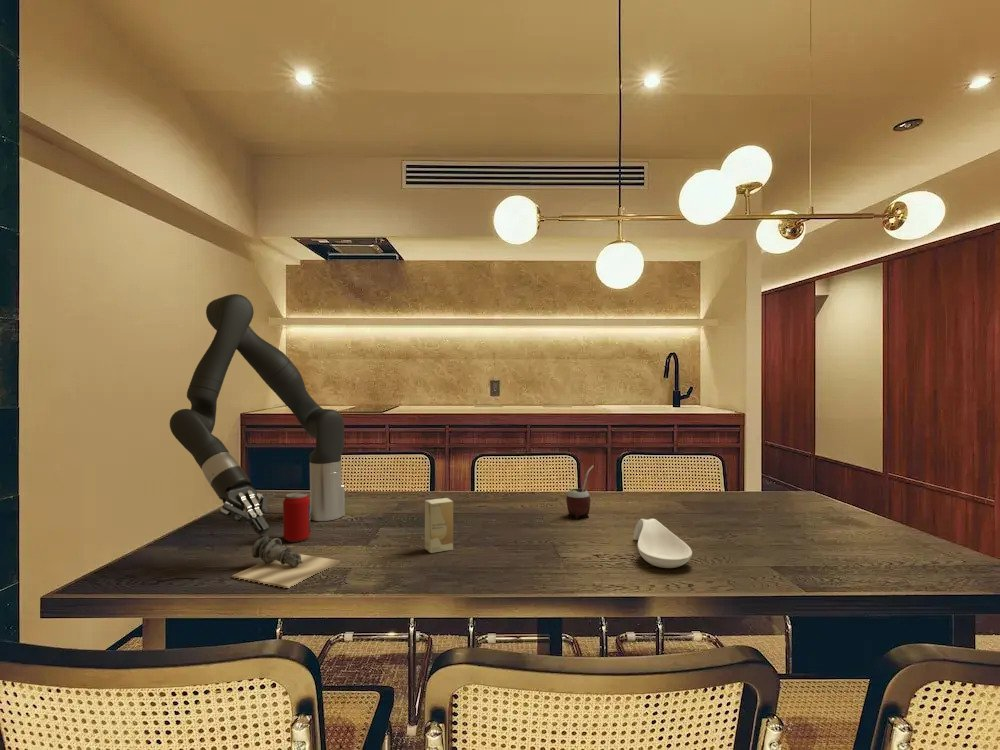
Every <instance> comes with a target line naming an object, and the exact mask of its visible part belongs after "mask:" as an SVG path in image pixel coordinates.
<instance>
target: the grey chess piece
mask: <svg viewBox="0 0 1000 750" xmlns="http://www.w3.org/2000/svg"><path fill="white" fill-rule="evenodd" d="M300 554H301V553H297V552H295V551H292V548H285V547H283V545H282V540H281V539H280V538H278V537H276V538H274V537H273V538H269V535H266V534H262V535H259V537H258V538H257V539H256V540H255V541H254V544H252V548H251V556H252V557H253V558H255V559H258V558H260V560H262V563H263V562H264V563H266V564H270V563H272V562H273V561H274V560H277V561H280V563H281V564H285V563H286V564H288V565H291V566H293V567H295V566H297V565H299V563H300V564H301V563H303V562H302V561H301V555H300Z"/></svg>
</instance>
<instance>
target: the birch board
mask: <svg viewBox="0 0 1000 750" xmlns="http://www.w3.org/2000/svg"><path fill="white" fill-rule="evenodd" d="M299 554H300V555H301V561H302V562H303V563H301V564H300V563H299V565H297V566H295V567H293V566H291V565H288V564H286V563H285V564H281V563H280V561H277V560H274V561H273V562H272V563H270V564H266V563H264V562H263V561H262V562H261V563H258V564H256V565H254V566H251V567H249V568H246V569H244V570H240V571H239V572H236V573H234V574H232V575H231V577H234V578H233V579H235V578H239V579H238V580H240V579H244V580H243V581H245V580H248V581H247V582H250V581H252V582H251V583H255V582H258V583H257V584H260V583H263V584H262V585H265V584H268V585H267V586H270V585H273V586H272V587H275V586H278V587H277V588H280V587H283V588H282V589H285V588H289V589H290V587H291V586H293V587H295V586H297V585H299V584H300V583H299V582H301V583H303V582H304V581H303V580H305V579H307V578H309V577H311V576H313V575H315V574H317V573H319V574H321V573H323V572H325V571H327V570H329V569H331V568H333V567H335V566H337V565H339V564H341V560H339V559H333V558H327V557H321V556H313V555H308V554H301V553H299ZM328 568H329V569H328ZM326 569H327V570H326ZM324 570H325V571H324ZM322 571H323V572H322ZM320 572H321V573H320ZM317 575H318V574H317ZM315 576H316V575H315ZM313 577H314V576H313ZM311 578H312V577H311ZM309 579H310V578H309ZM307 580H308V579H307ZM302 581H303V582H302ZM305 581H306V580H305ZM298 583H299V584H298ZM296 584H297V585H296ZM294 585H295V586H294ZM291 588H292V587H291Z"/></svg>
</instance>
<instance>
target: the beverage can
mask: <svg viewBox="0 0 1000 750" xmlns="http://www.w3.org/2000/svg"><path fill="white" fill-rule="evenodd" d="M310 511H311V510H310V497H309V495H308V493H307V492H304V491H303V492H292V493H288V494H285V498H284V500H283V502H282V512H283V517H282V518H283V519H282V520H283V523H282V524H283V539H284V540H286V541H287V542H288V543H299V541H300V542H304V541H306V540H307V539H308V538H310V537H311V514H310ZM303 540H304V541H303Z"/></svg>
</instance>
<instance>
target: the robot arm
mask: <svg viewBox="0 0 1000 750" xmlns="http://www.w3.org/2000/svg"><path fill="white" fill-rule="evenodd" d="M205 309H206V310H205V315H206V318H207V320H208V323H209V324H210V325H211V327H212V329H214V330H215V331H216V332H215V335H214V337H213V340H212V341H211V343H210V344H209V347H208V348H207V350H206V351H205V353H204V354H203V355H202V357H201V359H200V360H199V362H198V364H197V365H196V368H195V369H194V371H193V375H192V376H191V379H190V382H189V385H188V388H187V391H186V398H187V400H188V401H189V402H190V405H191V407H190V409H189V408H182V409H181V408H180V409H179V410H176V411H175V412H174V413H173V414H172V416H170V419H169V429H170V431H171V433H172V435H173V436H174V438H175V439H176V440H177V441H178V443H180V444H181V445H182V446H183V448H185V450H187V452H189V453H190V455H191V456H192V457H193V459H194V460H195V462H196V464H197V465H198V466H199V468H200V469H201V471H202V473H203V475H204V477H205V479H206V480H207V482H208V484H209V485H210V486H211V488H212V490H213V491H214V492H215V494H216V496H217V497H218V499H219V500H221V501H222V503H223V505H222V506H221V508H220V509H219V510H218V514H220V515H221V516H224V517H226V518H228V519H230V520H232V521H235V522H237V523H238V524H241V525H242V524H244V523H247V524H249V525H250V527H251V528H252V530H253V531H254V532H255V533H256V534H258V536H262V535H266V533H268V531H269V530H270V529H269V528H270V527H269V524H268V523H267V521H266V519H265V518H264V517H263V516H264V515H265V513H266V512H267V511H268V504H269V493H267V492H264V493H263V494H262V493H258V491H257V489H255V488H254V487H253V486H252V483H251V479H250V478H249V476H248V475H247V473H246V472H245V471H244V469H243V468H242V467H241V465H240V464H239V462H238V460H237V459H236V458H235V457H234V455H232V454H231V453H230V451H229V449H228V448H227V447H226V445H225V444H224V443H223V441H222V440H221V439H220V438H218V437H217V436H215V435H214V434H212V433H213V431H214V428H215V425H216V419H217V418H216V417H217V404H218V403H217V401H218V398H219V395H220V392H221V389H222V387H223V383H224V380H225V377H226V375H227V372H228V370H229V366H230V364H231V362H232V359H233V357H234V356H235V353H236V351H237V352H239V355H241V356H242V357H243V359H244V360H245V361H246V362H247V363H248V365H250V366H251V368H253V370H254V371H255V372H256V373H257V375H259V377H260V378H261V379H262V381H263V382H264V383H265V384H266V385H267V387H269V388H270V390H272V392H273V393H274V394H276V396H277V397H278V398H279V399H280V400H281V402H283V404H284V405H285V406H287V408H288V409H289V410H290V411H291V412H292V413H293V415H294V416H295V418H296V419H297V421H298V422H299V424H300V425H301V426H302V428H303V430H304V431H305V432H306V433H307V434H308V435H309V436H310V437H312V438H313V439H315V441H316V442H315V448H314V450H313V451H311V452H310V453H309V493H310V497H309V499H310V521H311V520H312V521H315V522H326V521H333V520H338V519H340V518H342V517H345V516H346V504H345V503H346V501H345V497H346V496H345V495H346V494H345V485H344V484H343V483H342V481H343V480H342V454H343V452H344V448H345V446H344V445H345V421H344V418H343V416H342V414H341V413H340V412H339V411H337V410H335V409H331V408H330V409H329V408H322V407H321V406H320V405H319V404H318V403H317V401H316V400H314V398H312V397H311V395H310V394H309V392H308V390H307V388H306V386H305V385H306V384H305V381H304V379H303V376H302V374H301V372H300V371H299V369H298V368H297V366H296V365H295V364H294V363H293V362H292V360H291V359H290V358H289V357H288V356H287V355H286V353H284V352H283V351H282V350H281V349H279V348H277V347H276V346H274V345H273V344H271V343H270V342H268V341H266V340H265V339H263V338H262V337H260V335H258V333H256V332H255V331H254V330H253V329H252V327H251V326H250V324H251V322H252V320H253V318H254V313H255V312H254V306H253V304H252V302H251V301H250V299H248V297H246V296H245V295H242V294H239V293H233V294H232V293H231V294H228V295H225V296H221V297H219V298H215V299H213V300H212V301H210V302H209V303H208V304H207V306H206V308H205Z"/></svg>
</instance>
